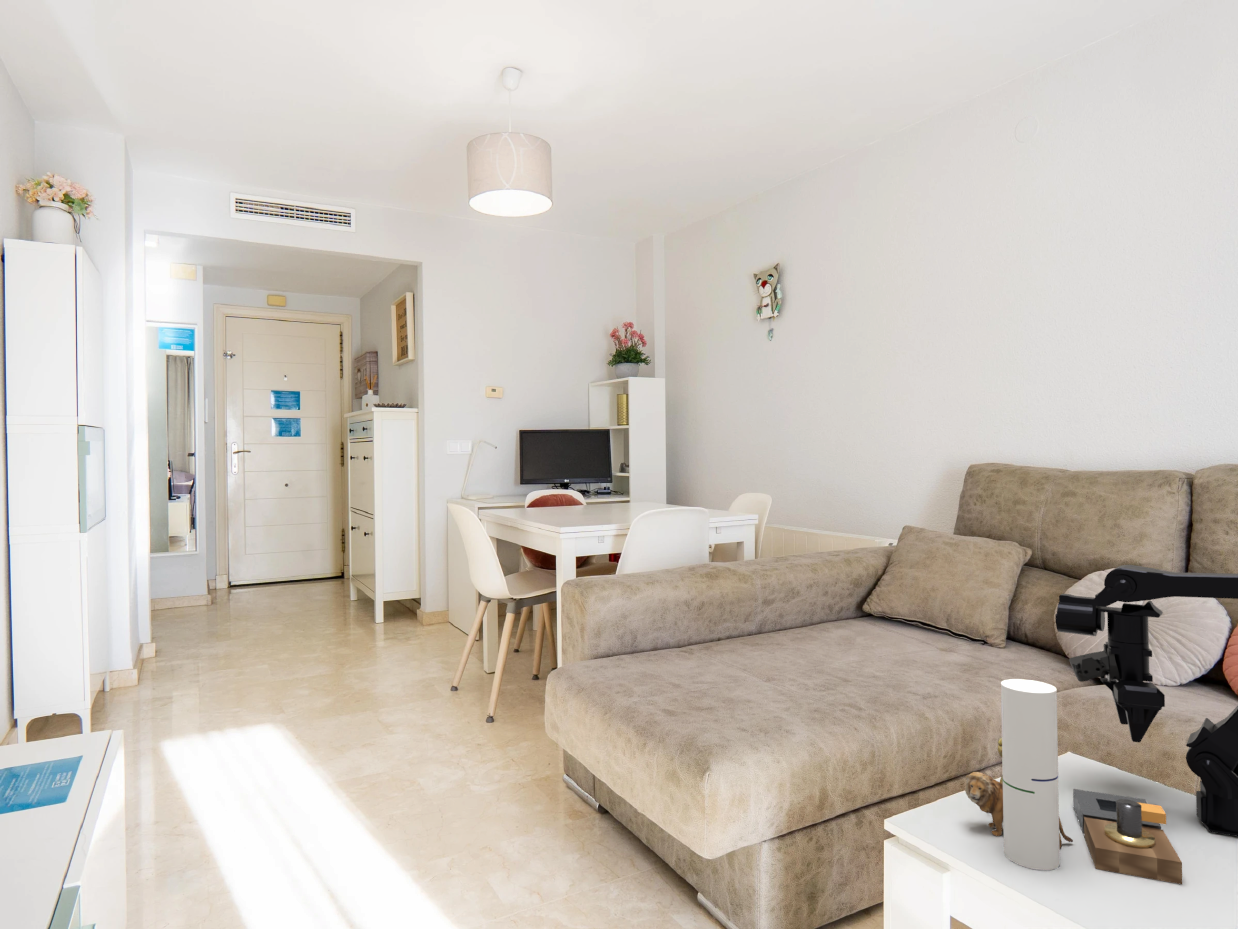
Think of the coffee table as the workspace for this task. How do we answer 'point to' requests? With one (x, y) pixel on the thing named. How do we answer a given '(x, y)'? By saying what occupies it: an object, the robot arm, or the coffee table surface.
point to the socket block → (1101, 807)
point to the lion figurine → (993, 800)
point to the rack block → (1133, 854)
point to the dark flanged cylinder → (1129, 826)
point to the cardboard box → (1153, 813)
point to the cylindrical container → (1030, 773)
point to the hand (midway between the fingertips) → (1129, 732)
